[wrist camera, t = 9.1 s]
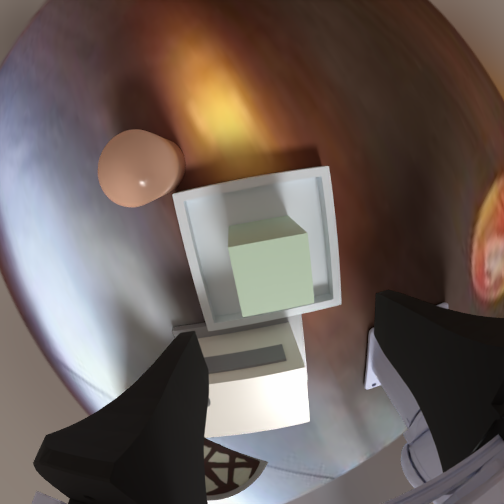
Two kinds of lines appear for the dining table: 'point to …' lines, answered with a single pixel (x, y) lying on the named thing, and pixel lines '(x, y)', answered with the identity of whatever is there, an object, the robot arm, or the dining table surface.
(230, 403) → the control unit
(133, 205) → the terracotta part
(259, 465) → the food container
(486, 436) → the robot arm
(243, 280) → the green part
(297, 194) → the tray
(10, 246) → the dining table surface
